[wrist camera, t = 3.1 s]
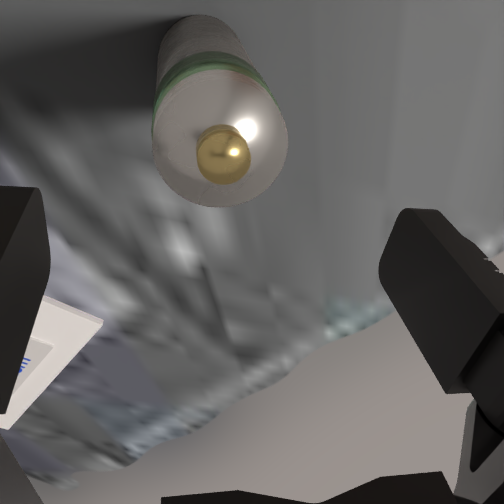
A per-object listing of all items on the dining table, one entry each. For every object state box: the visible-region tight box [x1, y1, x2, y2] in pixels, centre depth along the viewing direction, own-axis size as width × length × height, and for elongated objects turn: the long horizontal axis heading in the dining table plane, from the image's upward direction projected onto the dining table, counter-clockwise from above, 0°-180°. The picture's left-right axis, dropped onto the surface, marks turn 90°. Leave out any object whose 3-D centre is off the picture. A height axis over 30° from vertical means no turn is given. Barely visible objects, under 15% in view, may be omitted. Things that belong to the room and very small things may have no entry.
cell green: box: [152, 15, 288, 207], centre depth 17 cm, size 4×4×11 cm
